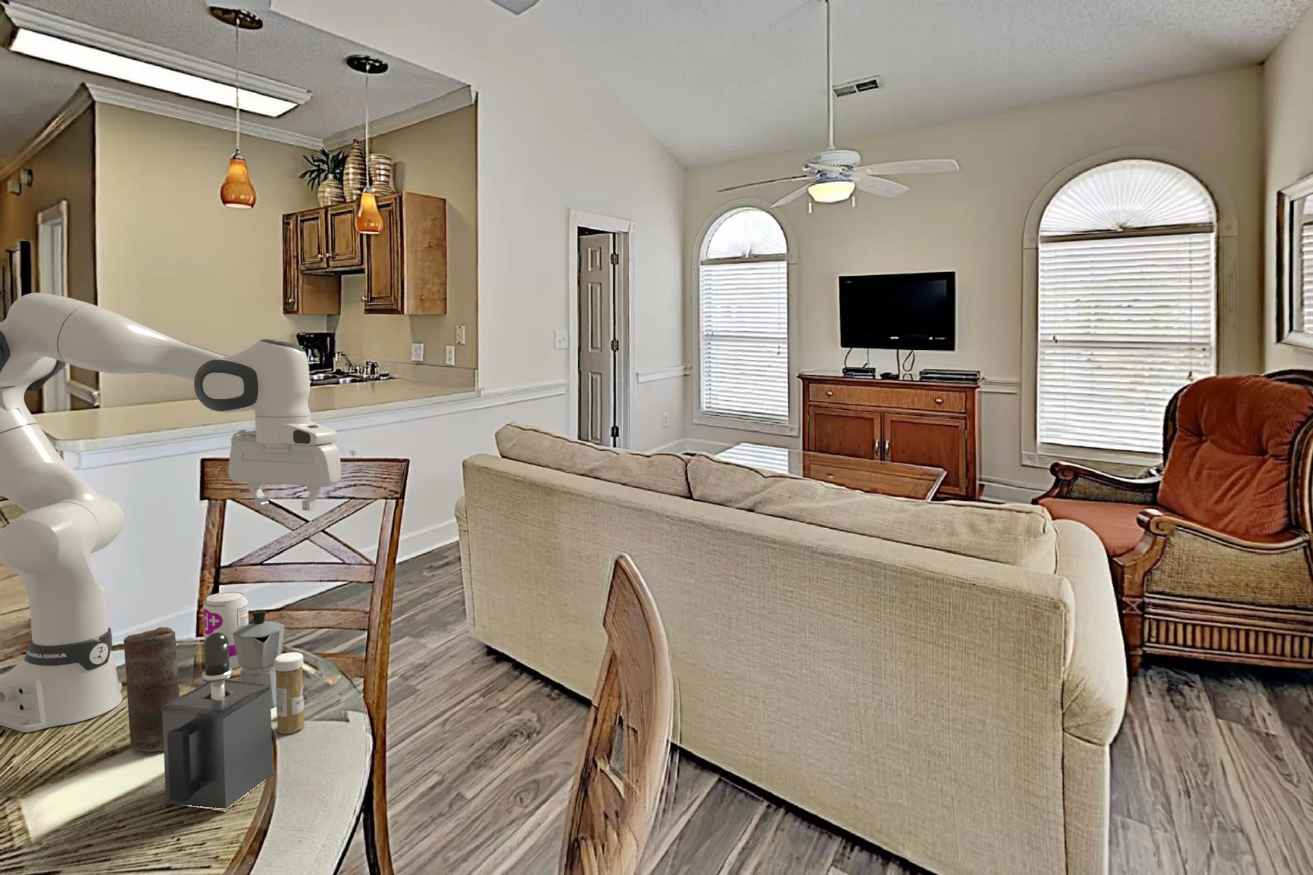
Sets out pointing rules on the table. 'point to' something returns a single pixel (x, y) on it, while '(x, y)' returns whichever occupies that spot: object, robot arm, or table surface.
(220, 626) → the supplement can
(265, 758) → the press body
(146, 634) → the candle
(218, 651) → the eye dropper
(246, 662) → the coffee maker
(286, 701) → the sprinkles bottle
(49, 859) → the table surface
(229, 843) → the table surface
